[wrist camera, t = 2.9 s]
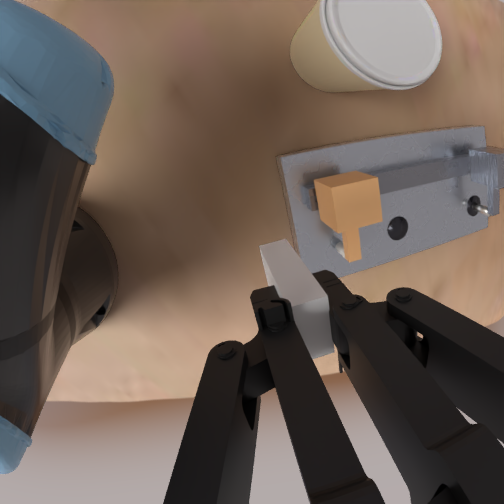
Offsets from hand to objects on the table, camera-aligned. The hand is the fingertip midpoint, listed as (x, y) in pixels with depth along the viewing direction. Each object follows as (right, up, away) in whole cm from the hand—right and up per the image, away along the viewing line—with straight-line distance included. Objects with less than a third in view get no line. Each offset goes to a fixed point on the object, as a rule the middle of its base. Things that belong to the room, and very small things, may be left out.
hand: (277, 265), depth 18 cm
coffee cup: (+6, +20, +9) cm, 22 cm away
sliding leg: (+6, +4, +12) cm, 14 cm away
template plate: (+15, +7, +15) cm, 22 cm away
